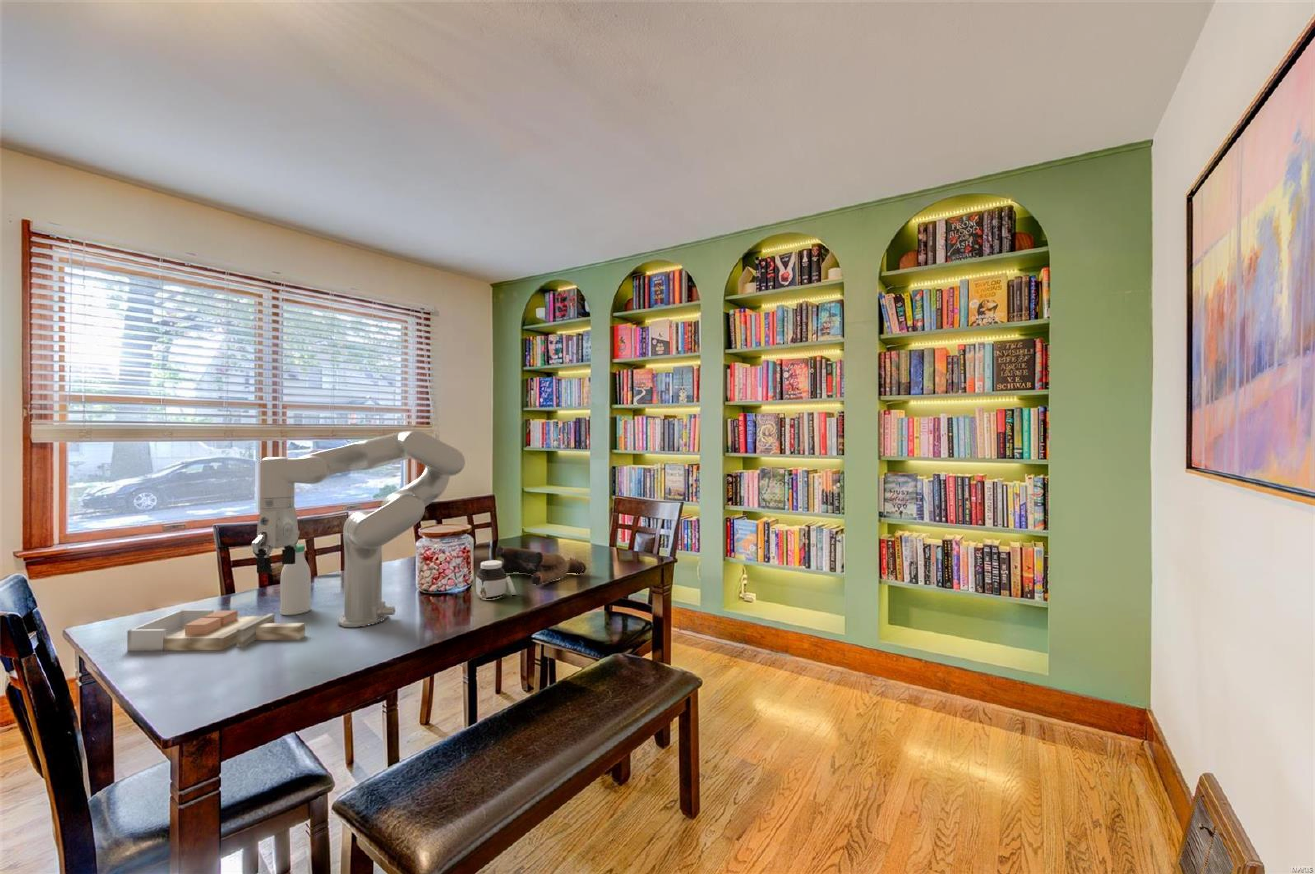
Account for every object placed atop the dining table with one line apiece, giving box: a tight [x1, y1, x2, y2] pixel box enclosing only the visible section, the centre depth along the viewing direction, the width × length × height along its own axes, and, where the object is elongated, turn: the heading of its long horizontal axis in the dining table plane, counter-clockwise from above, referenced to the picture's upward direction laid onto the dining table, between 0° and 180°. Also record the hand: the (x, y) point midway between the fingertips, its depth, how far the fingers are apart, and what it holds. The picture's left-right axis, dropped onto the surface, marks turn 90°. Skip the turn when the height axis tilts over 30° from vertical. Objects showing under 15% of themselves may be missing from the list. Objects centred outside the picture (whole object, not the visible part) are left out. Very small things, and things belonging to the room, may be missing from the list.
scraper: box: [236, 613, 306, 648], centre depth 142 cm, size 12×12×4 cm
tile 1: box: [185, 618, 221, 635], centre depth 139 cm, size 5×5×2 cm
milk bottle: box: [279, 544, 312, 616], centre depth 163 cm, size 8×8×20 cm
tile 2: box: [204, 609, 239, 626], centre depth 145 cm, size 5×5×2 cm
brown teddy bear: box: [495, 545, 587, 586], centre depth 206 cm, size 13×31×25 cm
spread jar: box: [475, 559, 517, 599], centre depth 179 cm, size 12×11×12 cm
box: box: [126, 609, 215, 652], centre depth 141 cm, size 8×16×5 cm, turn 2°
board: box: [163, 615, 264, 652], centre depth 142 cm, size 14×16×3 cm
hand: (276, 568), depth 142 cm, fingers open, 9 cm apart
